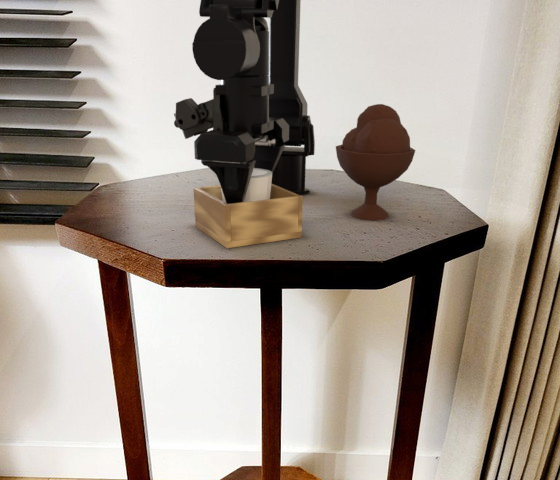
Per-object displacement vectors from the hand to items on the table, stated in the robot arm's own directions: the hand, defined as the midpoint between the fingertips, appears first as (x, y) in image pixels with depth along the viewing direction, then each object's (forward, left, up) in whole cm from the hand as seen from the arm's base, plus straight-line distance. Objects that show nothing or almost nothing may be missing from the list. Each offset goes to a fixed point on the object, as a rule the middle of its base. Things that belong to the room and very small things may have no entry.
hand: (246, 207), depth 79 cm
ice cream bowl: (-20, 0, -4) cm, 20 cm away
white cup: (0, 0, -3) cm, 3 cm away
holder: (0, 0, -3) cm, 3 cm away
